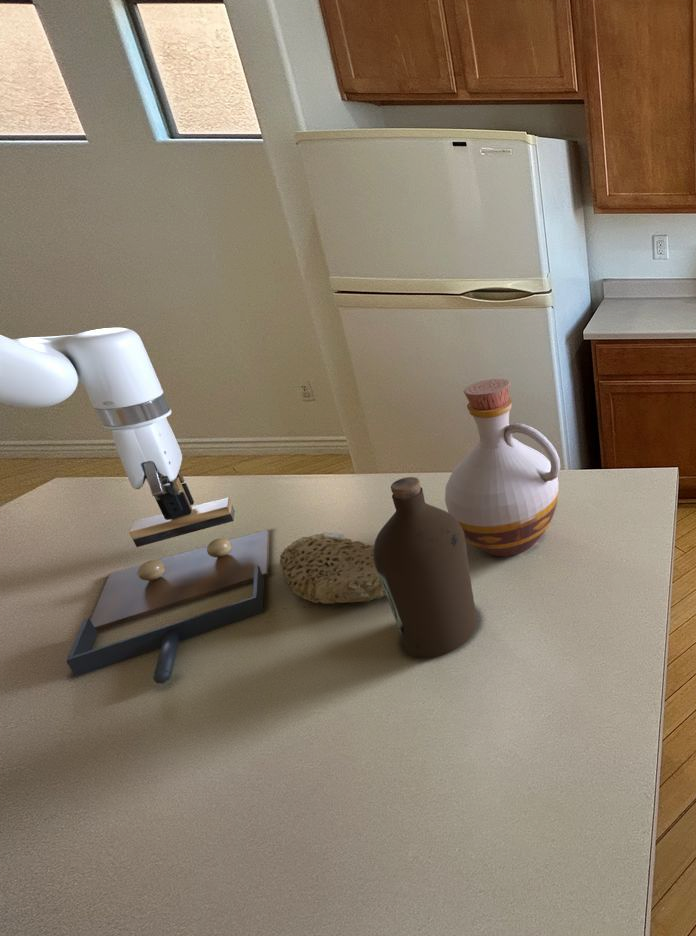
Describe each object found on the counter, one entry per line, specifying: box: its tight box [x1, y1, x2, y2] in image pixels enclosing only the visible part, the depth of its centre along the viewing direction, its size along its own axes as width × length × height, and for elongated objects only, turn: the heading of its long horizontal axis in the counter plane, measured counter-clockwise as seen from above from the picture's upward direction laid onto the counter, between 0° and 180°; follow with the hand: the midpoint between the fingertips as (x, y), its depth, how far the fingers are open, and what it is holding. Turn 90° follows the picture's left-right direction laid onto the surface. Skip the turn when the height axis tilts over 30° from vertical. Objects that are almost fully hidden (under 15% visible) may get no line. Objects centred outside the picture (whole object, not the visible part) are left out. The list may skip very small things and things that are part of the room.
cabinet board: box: [90, 528, 271, 632], centre depth 87 cm, size 20×14×1 cm
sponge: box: [279, 532, 387, 605], centre depth 86 cm, size 13×8×20 cm
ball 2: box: [207, 538, 232, 557], centre depth 91 cm, size 3×3×3 cm
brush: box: [128, 477, 236, 548], centre depth 90 cm, size 12×4×9 cm, turn 126°
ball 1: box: [138, 559, 165, 581], centre depth 85 cm, size 3×3×3 cm
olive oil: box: [373, 476, 478, 659], centre depth 73 cm, size 11×11×25 cm
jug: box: [444, 378, 561, 557], centre depth 91 cm, size 20×18×30 cm
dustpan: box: [65, 565, 265, 684], centre depth 75 cm, size 17×19×3 cm
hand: (180, 510), depth 91 cm, fingers closed on brush, 2 cm apart
